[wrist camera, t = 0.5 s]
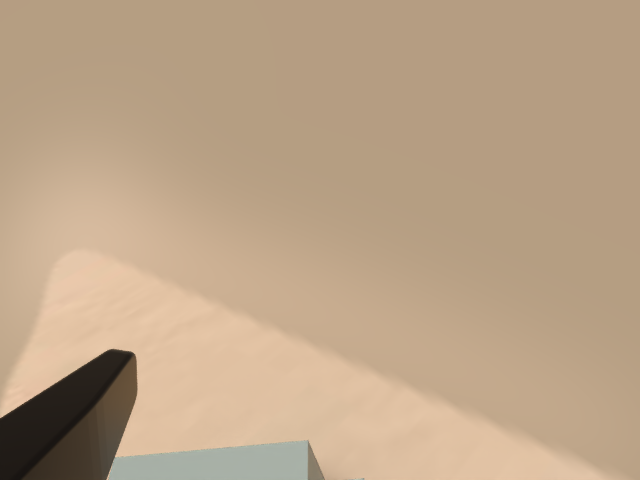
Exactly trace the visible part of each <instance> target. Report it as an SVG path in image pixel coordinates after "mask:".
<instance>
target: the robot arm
mask: <svg viewBox="0 0 640 480" xmlns="http://www.w3.org/2000/svg"><path fill="white" fill-rule="evenodd" d="M136 396H137V361H136V356H135V354H134V353H133V352H130V351H123V350H117V349H110V350H108V351H106V352H104V353H103V354H101V355H99V356H98V357H96V358H95V359H93V360H91V361H90V362H88V363H87V364H85V365H84V366H82V367H80V368H79V369H77V370H76V371H74V372H73V373H71V374H69V375H68V376H66V377H65V378H63V379H62V380H60V381H58V382H57V383H55V384H54V385H52V386H51V387H49V388H47V389H46V390H44V391H43V392H41V393H39V394H38V395H36V396H35V397H33V398H32V399H30V400H28V401H27V402H25V403H24V404H22V405H21V406H19V407H17V408H16V409H14V410H13V411H11V412H10V413H8V414H6V415H5V416H3V417H2V418H0V480H106V479H107V476H108V474H109V471H110V469H111V466H112V463H113V460H114V458H115V455H116V452H117V450H118V447H119V444H120V441H121V439H122V436H123V433H124V431H125V428H126V425H127V423H128V420H129V417H130V414H131V412H132V409H133V406H134V403H135V400H136Z"/></svg>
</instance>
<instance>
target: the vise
mask: <svg viewBox="0 0 640 480" xmlns="http://www.w3.org/2000/svg"><path fill="white" fill-rule="evenodd" d="M109 480H325V479H324V477H323V474H322V472H321V470H320V467H319V465H318V462H317V460H316V458H315V455H314V453H313V451H312V448H311V446H310V444H309V441H308V440H307V441H295V442H284V443H273V444H262V445H250V446H239V447H228V448H217V449H206V450H194V451H183V452H172V453H161V454H149V455H138V456H127V457H116V458H114V461H113V465H112V469H111V472H110V476H109ZM351 480H364V478H363V479H351Z"/></svg>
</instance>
